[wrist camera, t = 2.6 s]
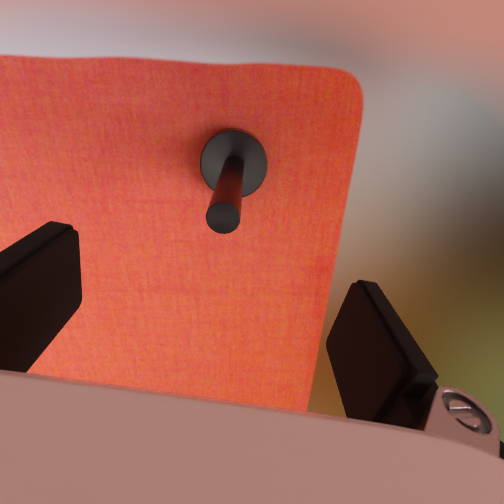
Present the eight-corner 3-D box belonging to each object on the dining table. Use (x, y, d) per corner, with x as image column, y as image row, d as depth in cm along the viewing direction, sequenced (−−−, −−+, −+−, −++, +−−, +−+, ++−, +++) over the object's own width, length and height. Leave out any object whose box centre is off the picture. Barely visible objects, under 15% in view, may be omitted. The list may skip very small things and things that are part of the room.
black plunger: (189, 165, 28) (142, 222, 16) (230, 113, 26) (214, 131, 14) (237, 206, 30) (229, 285, 18) (279, 160, 28) (304, 214, 16)
